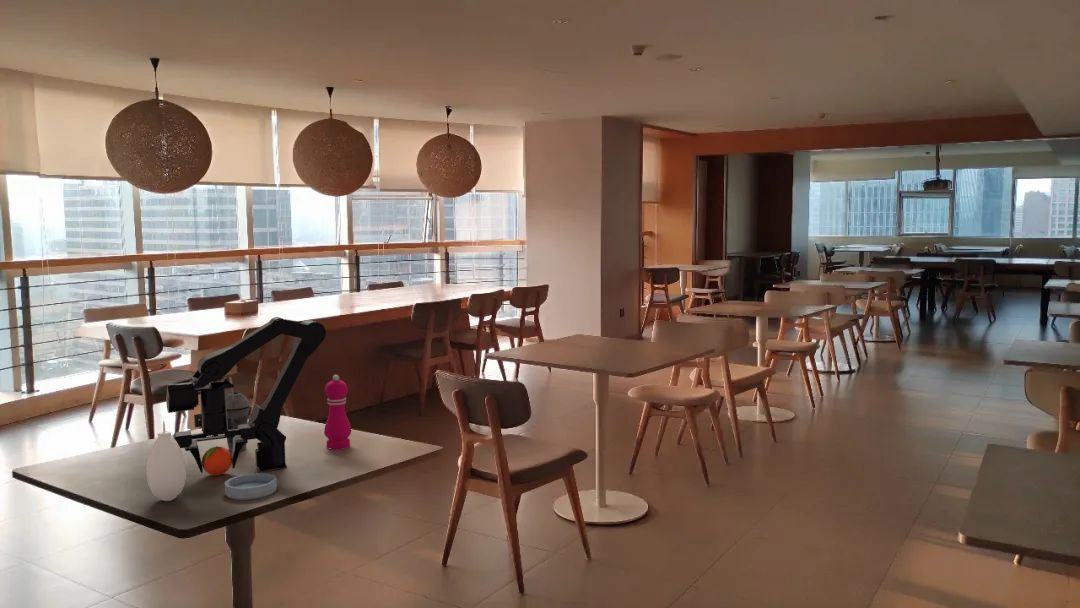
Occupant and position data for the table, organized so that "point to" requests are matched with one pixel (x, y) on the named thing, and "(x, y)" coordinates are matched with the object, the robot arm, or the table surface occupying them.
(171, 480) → the white tall egg-shaped piece
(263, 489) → the saucer
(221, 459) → the clementine
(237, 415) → the beverage cup
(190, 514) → the table surface
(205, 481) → the table surface
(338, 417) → the pepper mill
